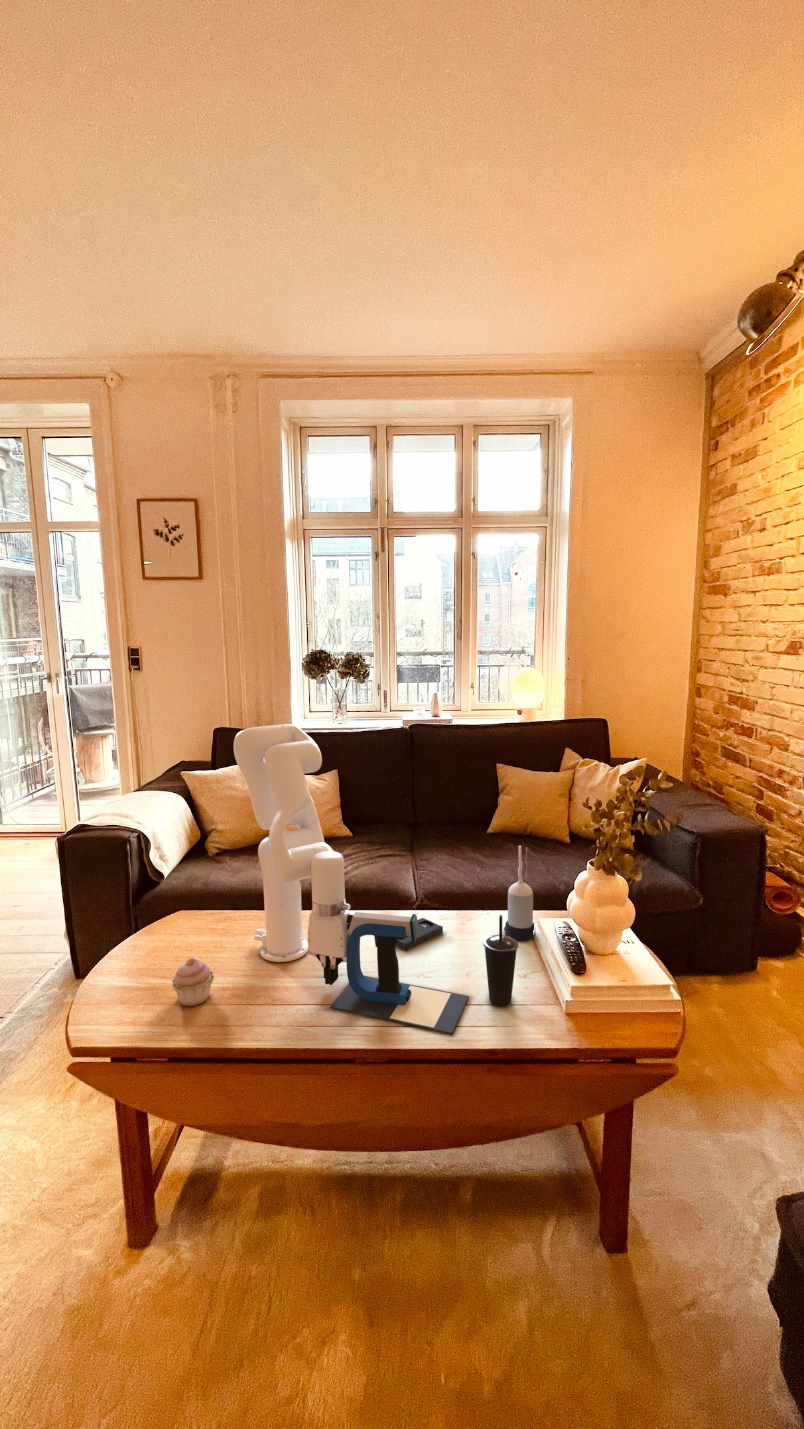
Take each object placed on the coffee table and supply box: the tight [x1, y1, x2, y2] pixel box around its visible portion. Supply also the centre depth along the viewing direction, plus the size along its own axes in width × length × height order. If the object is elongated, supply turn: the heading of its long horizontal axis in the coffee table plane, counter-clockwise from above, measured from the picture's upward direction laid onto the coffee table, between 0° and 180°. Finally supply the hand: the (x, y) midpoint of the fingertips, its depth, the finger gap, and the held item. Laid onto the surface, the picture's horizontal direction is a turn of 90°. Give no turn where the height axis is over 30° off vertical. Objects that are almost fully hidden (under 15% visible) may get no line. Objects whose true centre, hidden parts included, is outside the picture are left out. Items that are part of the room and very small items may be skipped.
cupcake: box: [171, 957, 215, 1007], centre depth 137 cm, size 9×9×10 cm
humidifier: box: [503, 845, 535, 942], centre depth 165 cm, size 8×8×25 cm
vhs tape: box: [396, 917, 444, 952], centre depth 165 cm, size 14×8×2 cm, turn 132°
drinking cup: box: [482, 914, 519, 1008], centre depth 134 cm, size 8×8×20 cm
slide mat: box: [329, 975, 470, 1035], centre depth 135 cm, size 28×14×1 cm, turn 70°
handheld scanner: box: [346, 911, 419, 1005], centre depth 135 cm, size 5×16×20 cm, turn 78°
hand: (331, 981), depth 140 cm, fingers closed
